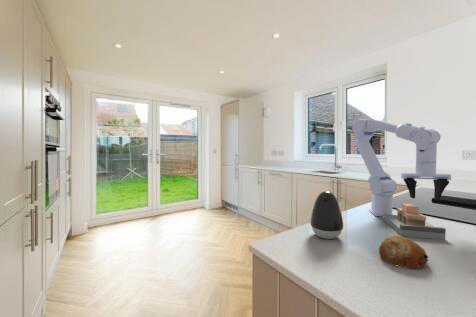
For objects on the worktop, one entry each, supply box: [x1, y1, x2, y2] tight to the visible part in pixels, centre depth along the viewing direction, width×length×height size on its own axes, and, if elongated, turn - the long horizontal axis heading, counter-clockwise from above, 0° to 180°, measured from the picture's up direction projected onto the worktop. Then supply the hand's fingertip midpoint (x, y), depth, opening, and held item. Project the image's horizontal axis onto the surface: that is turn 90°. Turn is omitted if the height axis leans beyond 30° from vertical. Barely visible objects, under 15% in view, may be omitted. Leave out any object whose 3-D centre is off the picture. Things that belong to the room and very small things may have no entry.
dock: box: [382, 214, 447, 241], centre depth 80 cm, size 18×12×4 cm, turn 163°
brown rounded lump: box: [378, 234, 429, 270], centre depth 58 cm, size 10×10×8 cm
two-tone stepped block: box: [396, 207, 427, 226], centre depth 80 cm, size 10×5×4 cm, turn 163°
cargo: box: [401, 202, 420, 214], centre depth 80 cm, size 4×4×2 cm
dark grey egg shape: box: [310, 190, 344, 240], centre depth 73 cm, size 10×10×15 cm
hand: (424, 198), depth 82 cm, fingers open, 7 cm apart
